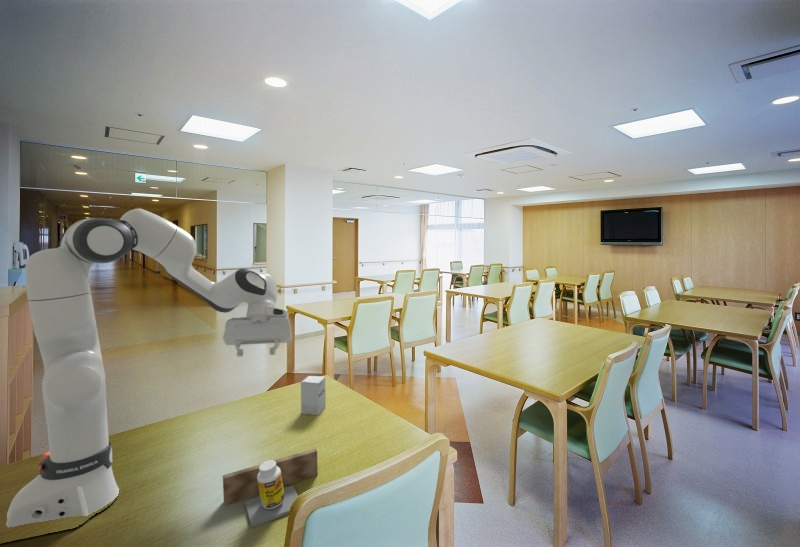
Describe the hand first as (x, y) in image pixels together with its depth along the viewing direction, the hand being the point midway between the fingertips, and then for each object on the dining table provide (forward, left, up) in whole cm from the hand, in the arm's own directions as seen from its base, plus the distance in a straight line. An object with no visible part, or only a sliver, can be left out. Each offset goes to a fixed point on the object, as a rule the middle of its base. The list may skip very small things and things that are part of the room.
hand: (256, 354), depth 113 cm
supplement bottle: (-1, -26, -30) cm, 40 cm away
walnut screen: (0, -19, -31) cm, 37 cm away
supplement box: (+24, +21, -32) cm, 45 cm away
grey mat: (-1, -26, -31) cm, 41 cm away
